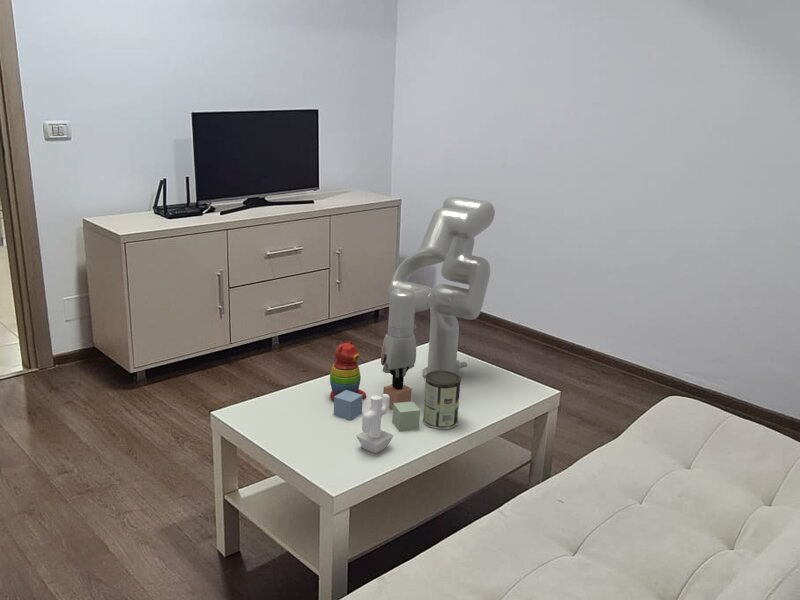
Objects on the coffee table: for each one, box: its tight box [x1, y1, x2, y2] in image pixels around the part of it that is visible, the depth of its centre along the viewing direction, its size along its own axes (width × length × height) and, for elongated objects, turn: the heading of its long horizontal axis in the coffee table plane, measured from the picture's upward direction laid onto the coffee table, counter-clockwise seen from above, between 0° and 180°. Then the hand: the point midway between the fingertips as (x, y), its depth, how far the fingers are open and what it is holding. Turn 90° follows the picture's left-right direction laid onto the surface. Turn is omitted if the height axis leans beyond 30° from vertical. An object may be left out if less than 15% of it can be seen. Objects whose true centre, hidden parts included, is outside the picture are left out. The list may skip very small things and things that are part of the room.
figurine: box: [356, 394, 394, 454], centre depth 198 cm, size 7×9×15 cm
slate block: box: [333, 390, 364, 421], centre depth 218 cm, size 6×6×6 cm
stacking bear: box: [329, 341, 367, 403], centre depth 226 cm, size 11×10×18 cm
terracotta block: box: [382, 383, 413, 411], centre depth 225 cm, size 6×6×6 cm
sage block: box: [392, 400, 421, 432], centre depth 213 cm, size 6×6×6 cm
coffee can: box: [422, 371, 462, 430], centre depth 215 cm, size 10×10×14 cm
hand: (397, 387), depth 224 cm, fingers closed
